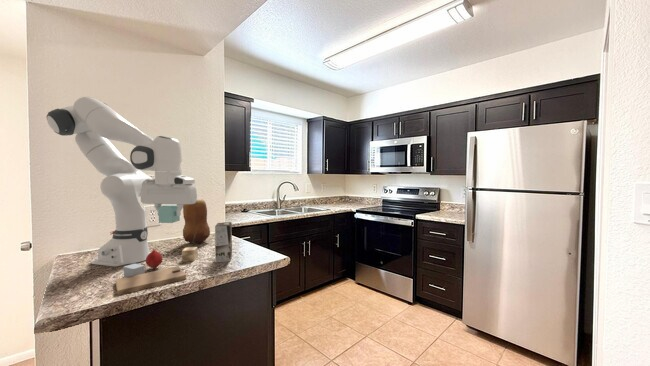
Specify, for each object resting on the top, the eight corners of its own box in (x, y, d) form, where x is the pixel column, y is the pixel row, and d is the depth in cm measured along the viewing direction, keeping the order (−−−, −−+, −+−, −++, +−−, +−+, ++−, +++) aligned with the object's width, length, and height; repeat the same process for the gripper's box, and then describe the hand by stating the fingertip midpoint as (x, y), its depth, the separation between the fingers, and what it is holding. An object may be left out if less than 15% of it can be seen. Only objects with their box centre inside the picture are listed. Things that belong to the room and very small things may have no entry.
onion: (143, 269, 108) (142, 249, 108) (158, 265, 113) (157, 246, 112) (150, 272, 105) (149, 252, 105) (165, 267, 110) (165, 248, 109)
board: (117, 295, 85) (117, 288, 85) (115, 283, 94) (115, 277, 94) (186, 278, 98) (186, 273, 98) (178, 269, 107) (178, 264, 107)
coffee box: (230, 261, 117) (230, 225, 117) (215, 262, 116) (214, 226, 115) (232, 255, 126) (232, 221, 126) (218, 256, 125) (217, 222, 124)
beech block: (182, 261, 117) (181, 250, 117) (186, 258, 122) (185, 247, 122) (194, 261, 118) (194, 250, 118) (197, 257, 123) (197, 246, 123)
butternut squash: (194, 239, 155) (193, 197, 154) (215, 241, 152) (214, 197, 151) (176, 246, 141) (175, 199, 140) (199, 247, 139) (198, 200, 138)
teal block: (158, 222, 99) (158, 206, 99) (167, 220, 104) (167, 205, 104) (171, 223, 99) (171, 207, 99) (179, 220, 104) (179, 205, 104)
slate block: (123, 277, 100) (123, 266, 100) (135, 273, 104) (134, 263, 104) (133, 279, 98) (133, 269, 98) (144, 275, 102) (144, 265, 101)
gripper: (135, 179, 98) (136, 216, 99) (189, 179, 97) (190, 217, 98) (148, 179, 104) (148, 214, 105) (198, 179, 103) (199, 214, 104)
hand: (169, 215), depth 101 cm, fingers closed on teal block, 5 cm apart
